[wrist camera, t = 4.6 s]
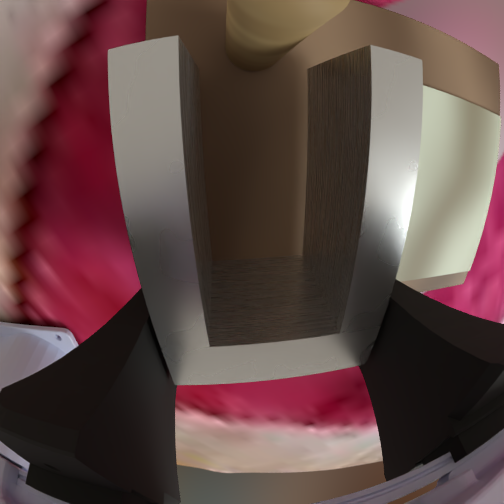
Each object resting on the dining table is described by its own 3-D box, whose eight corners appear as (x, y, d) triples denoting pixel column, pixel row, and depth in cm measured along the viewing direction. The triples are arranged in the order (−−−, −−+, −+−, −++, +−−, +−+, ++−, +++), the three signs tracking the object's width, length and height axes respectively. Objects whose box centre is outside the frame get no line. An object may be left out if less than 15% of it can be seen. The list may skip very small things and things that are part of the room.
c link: (327, 287, 11) (366, 363, 7) (185, 298, 10) (174, 384, 7) (343, 73, 7) (422, 60, 4) (159, 74, 7) (107, 50, 3)
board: (181, 303, 13) (165, 429, 7) (153, 5, 6) (83, -82, 1) (454, 274, 14) (516, 342, 8) (485, 63, 8) (580, 79, 2)
